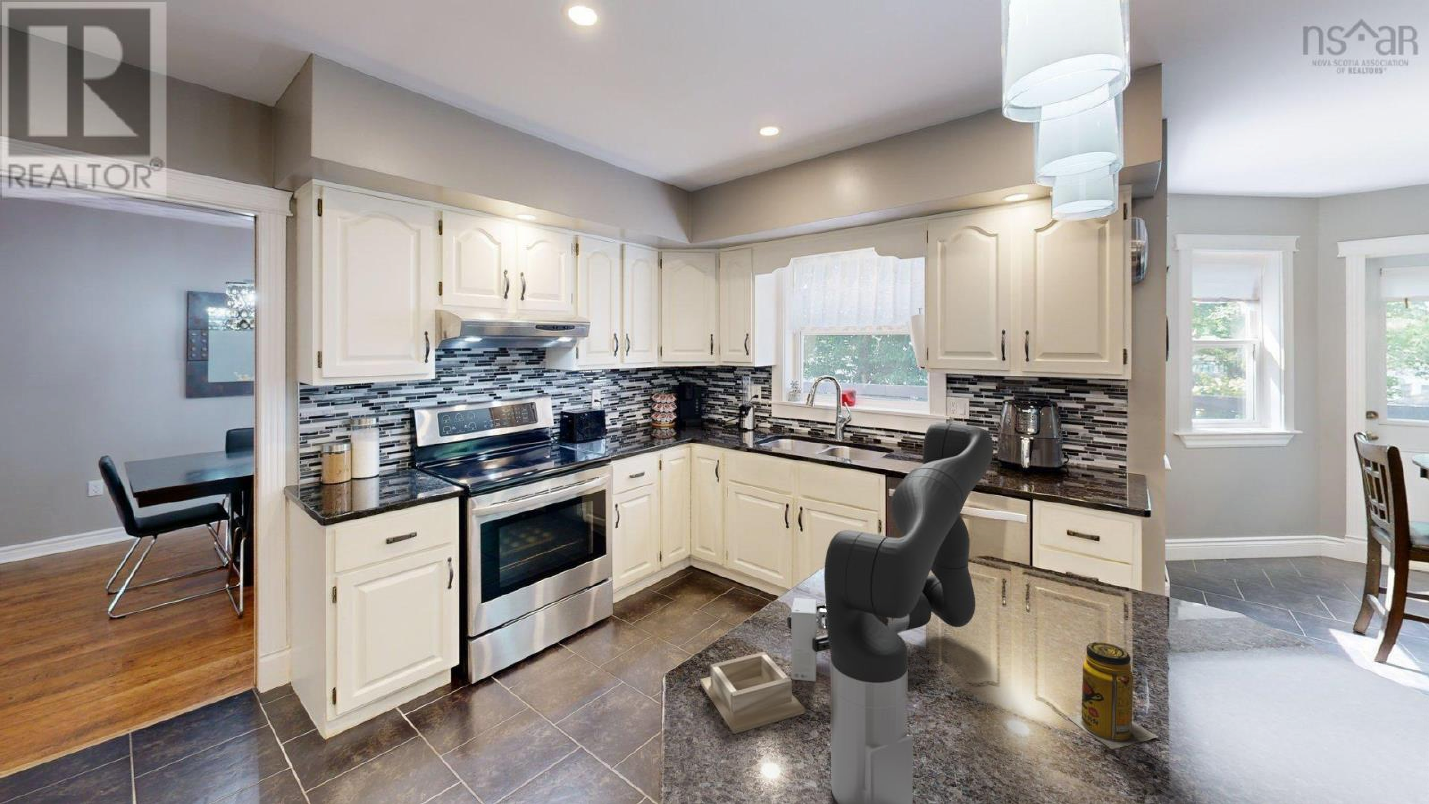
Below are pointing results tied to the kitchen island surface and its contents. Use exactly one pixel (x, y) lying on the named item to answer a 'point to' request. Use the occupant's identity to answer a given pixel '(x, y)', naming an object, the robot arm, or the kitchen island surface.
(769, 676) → the block
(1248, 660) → the kitchen island surface
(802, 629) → the skincare box
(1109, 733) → the condiment
